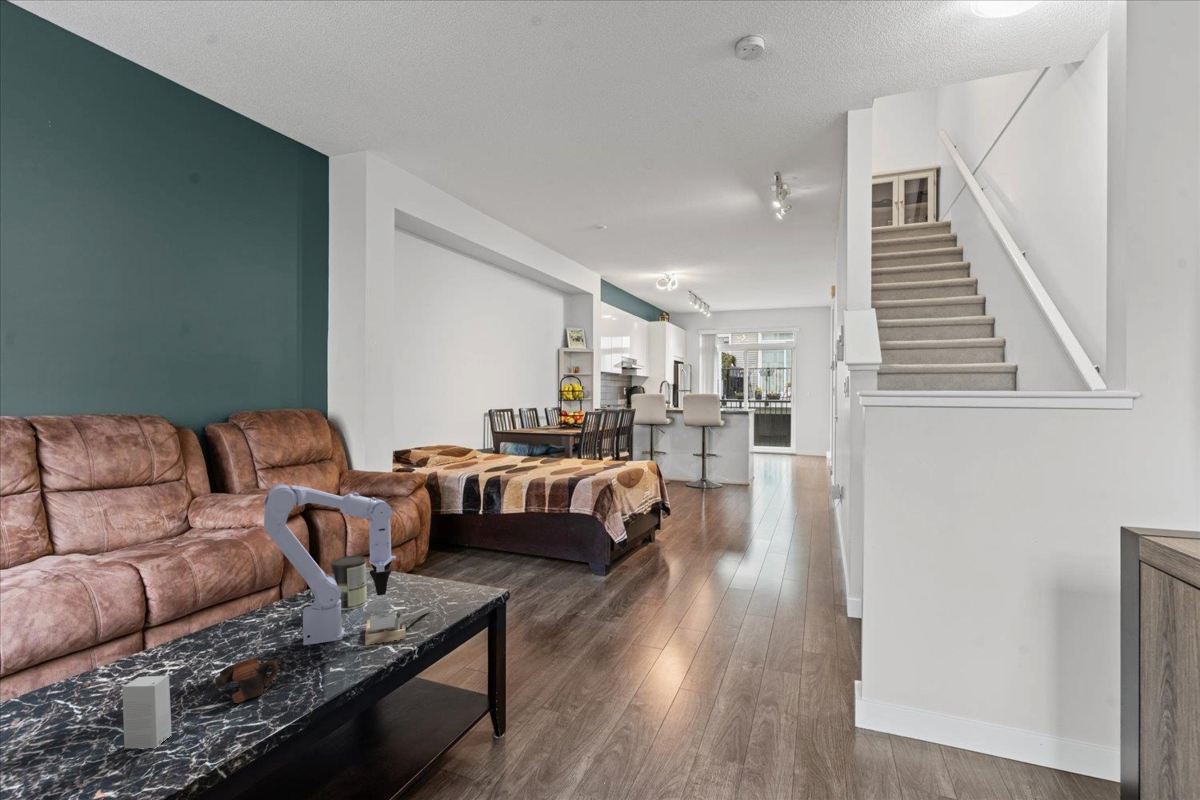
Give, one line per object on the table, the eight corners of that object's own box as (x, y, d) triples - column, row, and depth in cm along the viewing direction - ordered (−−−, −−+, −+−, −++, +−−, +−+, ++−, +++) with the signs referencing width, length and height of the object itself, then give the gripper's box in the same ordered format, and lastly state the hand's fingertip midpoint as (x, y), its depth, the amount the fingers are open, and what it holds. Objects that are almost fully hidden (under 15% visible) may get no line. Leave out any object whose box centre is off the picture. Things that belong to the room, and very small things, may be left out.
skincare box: (172, 736, 112) (170, 674, 112) (156, 749, 108) (154, 685, 108) (140, 737, 112) (138, 676, 112) (122, 751, 108) (120, 687, 107)
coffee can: (329, 612, 176) (328, 566, 176) (334, 601, 186) (333, 557, 186) (366, 608, 179) (364, 562, 179) (368, 597, 189) (367, 554, 189)
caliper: (398, 638, 155) (397, 615, 155) (394, 638, 155) (394, 614, 155) (432, 610, 175) (431, 589, 175) (428, 610, 175) (427, 589, 175)
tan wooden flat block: (365, 645, 151) (365, 635, 151) (367, 628, 163) (367, 619, 163) (405, 639, 155) (405, 629, 155) (404, 622, 166) (404, 614, 166)
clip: (370, 642, 153) (369, 619, 153) (370, 638, 156) (370, 616, 156) (395, 638, 156) (395, 616, 156) (395, 634, 158) (395, 612, 158)
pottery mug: (218, 712, 121) (209, 673, 124) (230, 711, 129) (222, 675, 132) (280, 684, 126) (271, 647, 129) (289, 685, 134) (279, 650, 137)
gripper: (395, 547, 159) (396, 596, 159) (395, 535, 173) (396, 581, 173) (367, 550, 157) (369, 600, 157) (369, 538, 171) (371, 584, 171)
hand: (381, 590), depth 165 cm, fingers open, 7 cm apart
